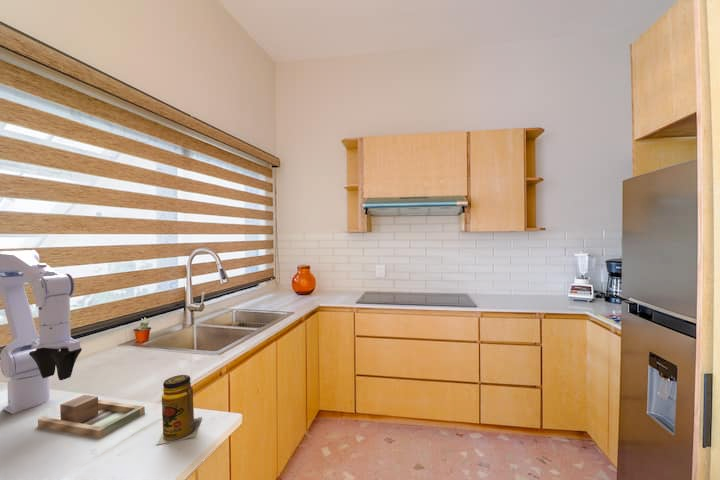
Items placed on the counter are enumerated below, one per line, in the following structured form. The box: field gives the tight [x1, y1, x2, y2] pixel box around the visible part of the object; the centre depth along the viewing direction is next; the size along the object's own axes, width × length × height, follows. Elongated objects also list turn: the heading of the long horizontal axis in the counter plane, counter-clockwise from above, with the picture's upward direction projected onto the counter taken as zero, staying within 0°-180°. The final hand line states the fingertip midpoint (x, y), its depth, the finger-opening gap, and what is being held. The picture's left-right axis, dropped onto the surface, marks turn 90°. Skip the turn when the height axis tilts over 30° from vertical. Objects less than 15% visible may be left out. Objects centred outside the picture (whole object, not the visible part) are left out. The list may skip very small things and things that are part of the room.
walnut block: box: [59, 394, 99, 423], centre depth 77 cm, size 5×5×4 cm
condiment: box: [156, 374, 203, 445], centre depth 72 cm, size 7×8×12 cm
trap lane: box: [37, 399, 146, 439], centre depth 76 cm, size 20×10×2 cm, turn 73°
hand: (56, 377), depth 80 cm, fingers open, 6 cm apart
